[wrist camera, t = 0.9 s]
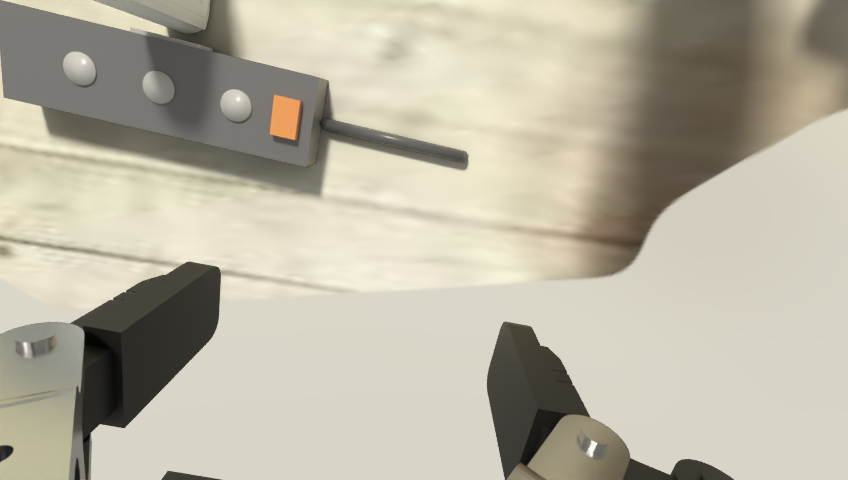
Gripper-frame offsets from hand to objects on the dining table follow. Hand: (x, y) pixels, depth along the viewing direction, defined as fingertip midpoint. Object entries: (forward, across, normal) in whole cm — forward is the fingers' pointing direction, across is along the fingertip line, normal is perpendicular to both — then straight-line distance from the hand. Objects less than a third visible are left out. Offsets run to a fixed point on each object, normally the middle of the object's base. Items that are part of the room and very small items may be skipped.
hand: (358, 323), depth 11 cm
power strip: (+26, +14, -4) cm, 30 cm away
